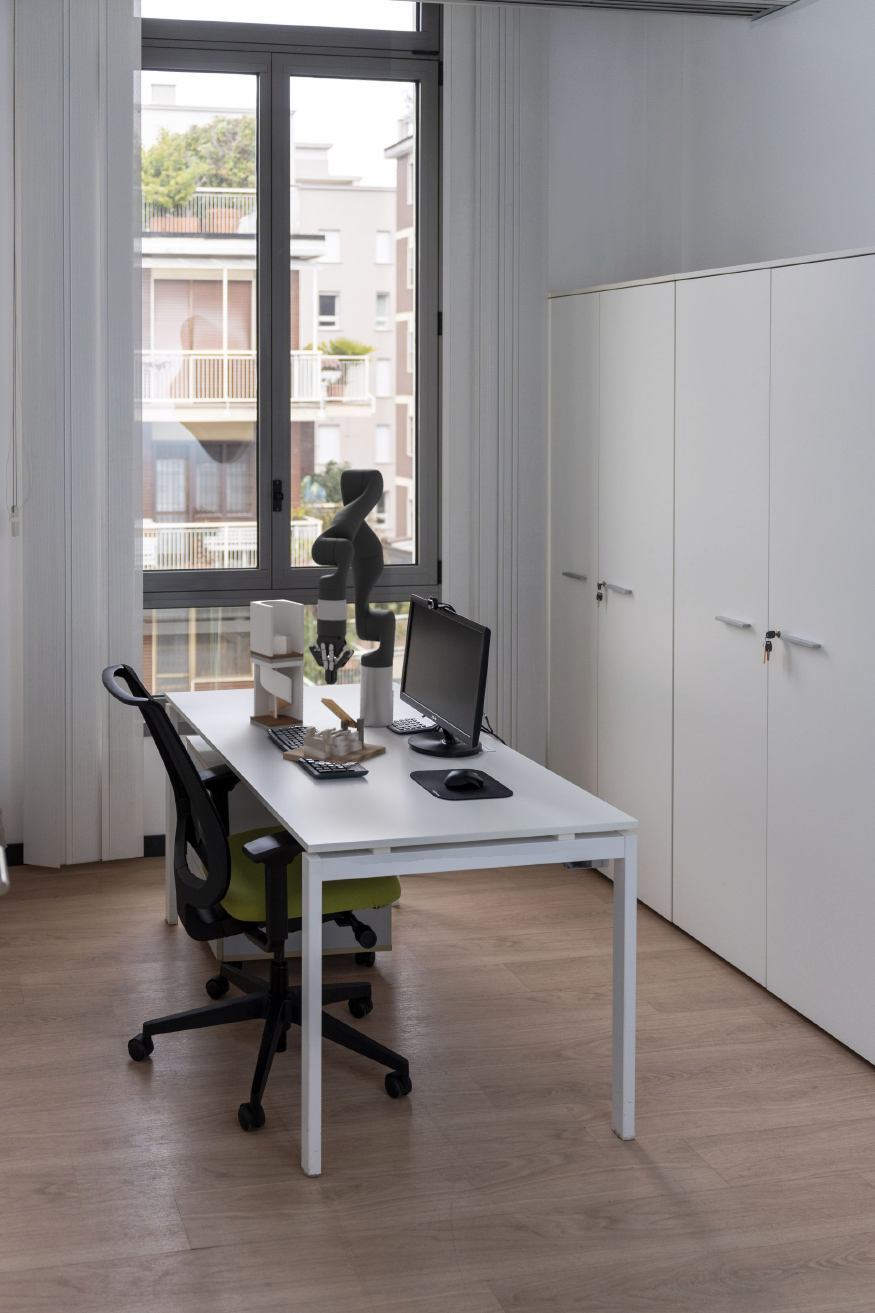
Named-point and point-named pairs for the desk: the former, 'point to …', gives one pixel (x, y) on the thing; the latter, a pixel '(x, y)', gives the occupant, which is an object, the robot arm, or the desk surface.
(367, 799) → the desk surface
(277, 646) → the display case
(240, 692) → the desk surface
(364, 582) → the robot arm
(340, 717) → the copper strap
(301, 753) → the wooden jig fixture
